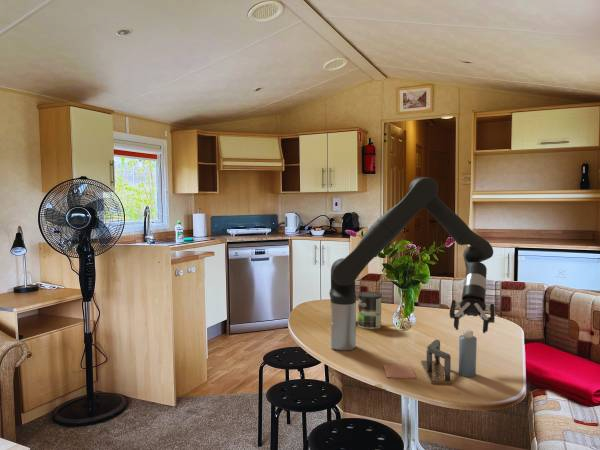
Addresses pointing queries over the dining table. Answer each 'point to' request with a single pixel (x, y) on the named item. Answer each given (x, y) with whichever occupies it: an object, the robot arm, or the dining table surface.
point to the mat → (399, 371)
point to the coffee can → (369, 310)
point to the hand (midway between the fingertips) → (470, 330)
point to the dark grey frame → (437, 364)
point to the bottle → (467, 354)
